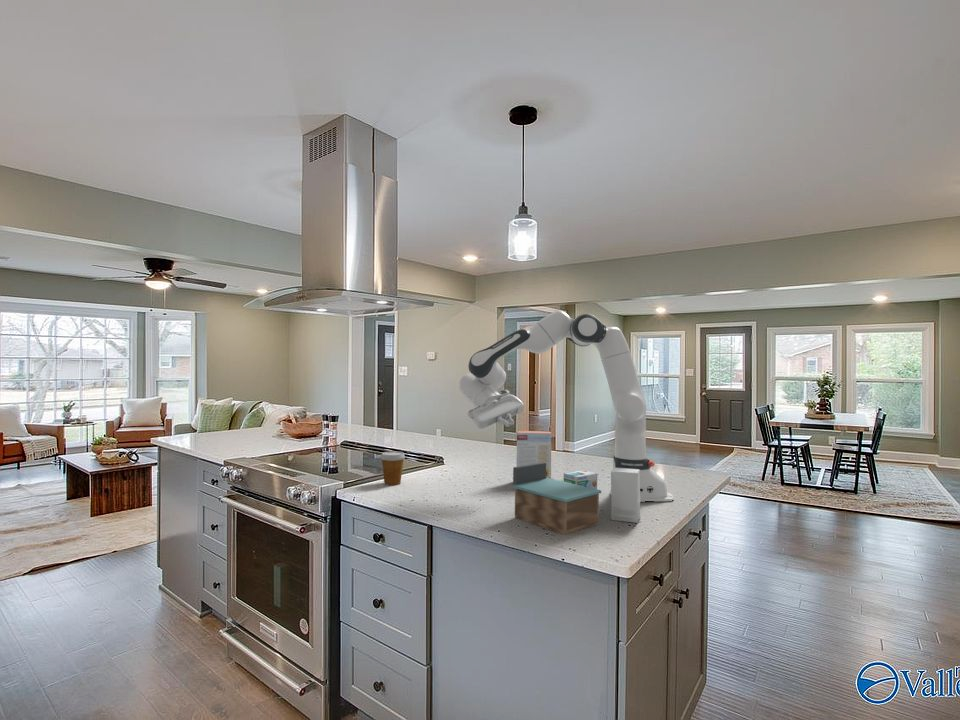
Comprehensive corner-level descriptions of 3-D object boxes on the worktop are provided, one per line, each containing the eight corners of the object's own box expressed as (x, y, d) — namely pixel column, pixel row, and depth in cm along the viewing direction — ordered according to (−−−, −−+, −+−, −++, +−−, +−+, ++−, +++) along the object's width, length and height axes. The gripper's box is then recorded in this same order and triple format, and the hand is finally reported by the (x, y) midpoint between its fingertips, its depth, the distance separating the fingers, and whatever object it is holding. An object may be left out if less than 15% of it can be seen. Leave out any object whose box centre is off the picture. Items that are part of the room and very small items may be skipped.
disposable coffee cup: (384, 480, 206) (385, 450, 206) (407, 481, 204) (407, 451, 204) (376, 485, 196) (377, 454, 196) (400, 487, 195) (401, 455, 195)
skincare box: (640, 518, 160) (641, 469, 160) (637, 524, 154) (638, 473, 154) (613, 514, 164) (614, 466, 164) (609, 520, 158) (610, 470, 158)
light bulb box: (576, 508, 170) (577, 476, 170) (562, 504, 175) (562, 472, 175) (597, 504, 176) (598, 473, 176) (583, 499, 181) (583, 469, 181)
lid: (509, 486, 160) (509, 467, 160) (545, 479, 171) (545, 461, 171) (565, 502, 143) (565, 481, 143) (601, 493, 154) (601, 473, 154)
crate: (514, 517, 158) (515, 488, 159) (548, 508, 169) (548, 481, 169) (564, 534, 143) (565, 502, 144) (598, 523, 154) (598, 493, 154)
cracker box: (550, 481, 208) (551, 431, 208) (551, 485, 202) (551, 433, 202) (516, 480, 209) (517, 430, 209) (515, 484, 203) (516, 431, 203)
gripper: (465, 405, 182) (487, 427, 173) (510, 388, 192) (533, 408, 183) (464, 418, 185) (486, 441, 176) (509, 401, 196) (531, 421, 186)
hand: (510, 424), depth 180 cm, fingers closed
